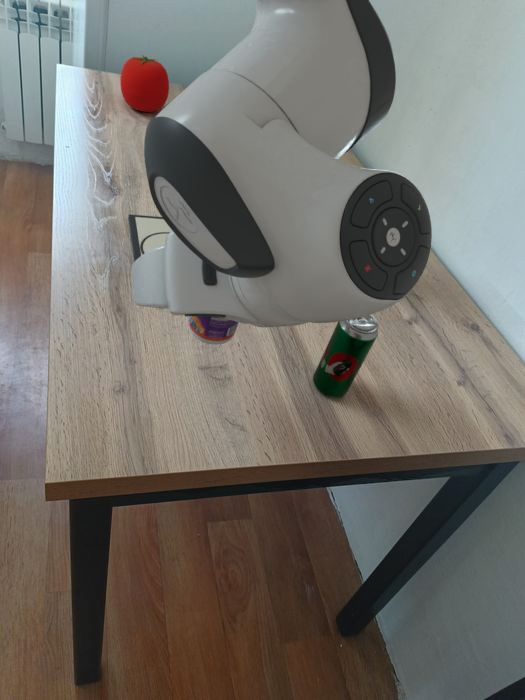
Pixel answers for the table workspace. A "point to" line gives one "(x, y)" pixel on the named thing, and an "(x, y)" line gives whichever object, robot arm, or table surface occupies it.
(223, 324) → the pill bottle
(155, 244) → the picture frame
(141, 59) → the tomato
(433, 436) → the table surface
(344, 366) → the soda can
